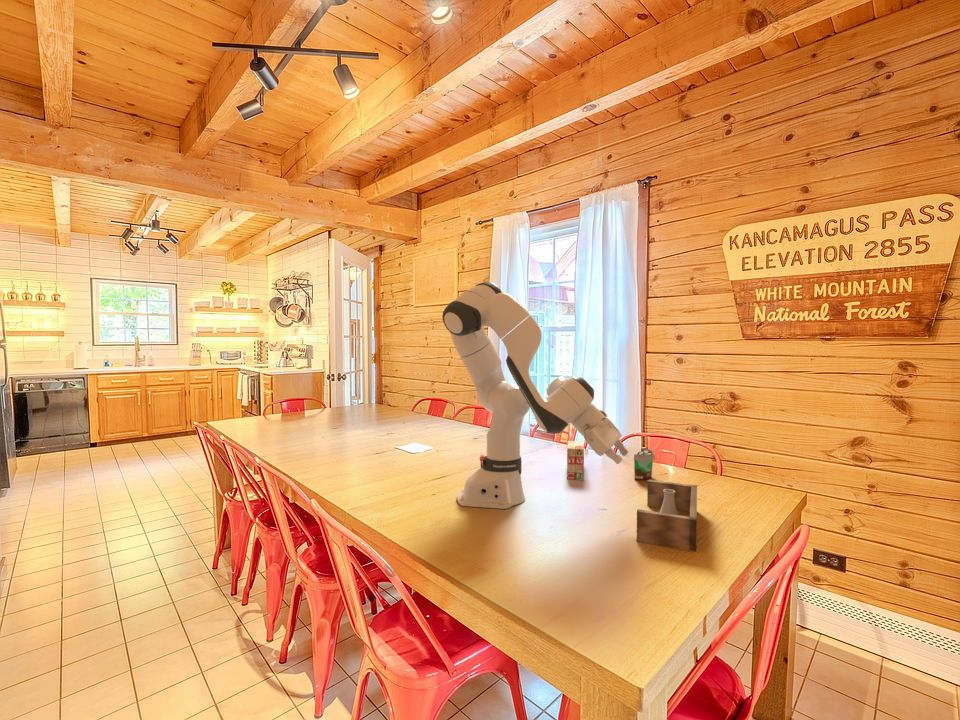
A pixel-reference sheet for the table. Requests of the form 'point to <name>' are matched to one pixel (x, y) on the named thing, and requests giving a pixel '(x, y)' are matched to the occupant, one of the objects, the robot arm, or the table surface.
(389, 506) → the table surface
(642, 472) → the food container
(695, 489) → the u-shaped enclosure
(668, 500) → the flask
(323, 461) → the table surface
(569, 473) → the stack of blocks
